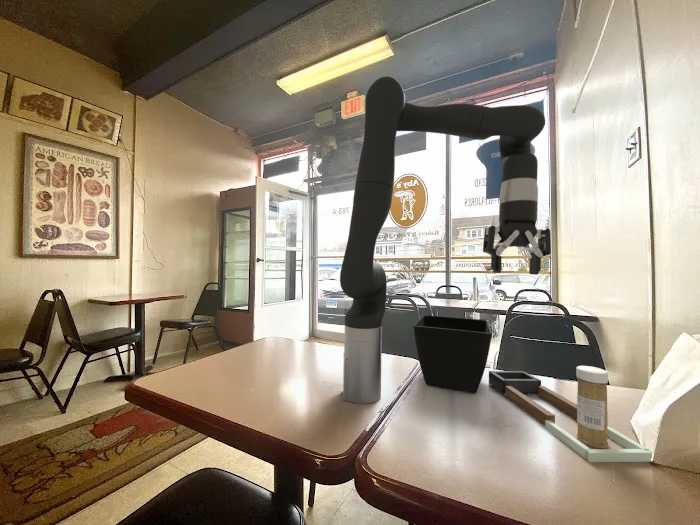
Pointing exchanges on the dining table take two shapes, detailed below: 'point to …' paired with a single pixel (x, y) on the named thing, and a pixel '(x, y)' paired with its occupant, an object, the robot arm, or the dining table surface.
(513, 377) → the bin
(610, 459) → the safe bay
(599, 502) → the dining table surface
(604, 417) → the sprinkles bottle
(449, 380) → the flower pot
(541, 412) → the channel
